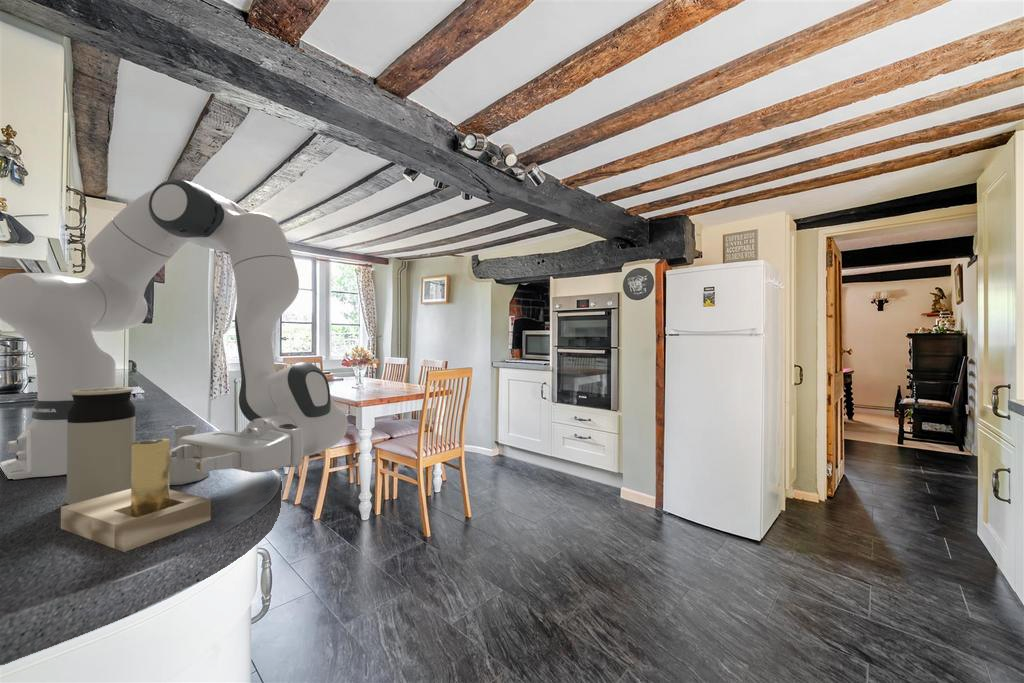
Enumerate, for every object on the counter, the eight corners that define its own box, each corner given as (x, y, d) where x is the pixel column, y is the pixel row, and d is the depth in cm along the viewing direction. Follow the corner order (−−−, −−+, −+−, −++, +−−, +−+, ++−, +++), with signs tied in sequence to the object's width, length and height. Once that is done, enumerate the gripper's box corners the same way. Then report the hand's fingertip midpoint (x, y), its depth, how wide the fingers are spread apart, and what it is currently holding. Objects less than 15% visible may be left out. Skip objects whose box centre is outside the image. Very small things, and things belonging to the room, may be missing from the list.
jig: (60, 528, 57) (60, 506, 57) (148, 502, 66) (148, 484, 66) (124, 552, 50) (124, 527, 50) (210, 519, 60) (210, 499, 60)
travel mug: (137, 497, 68) (138, 389, 68) (66, 511, 62) (67, 393, 62) (131, 485, 74) (132, 385, 74) (66, 498, 68) (67, 389, 68)
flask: (181, 488, 73) (181, 431, 73) (148, 485, 74) (149, 429, 74) (218, 475, 80) (218, 424, 80) (187, 472, 81) (188, 422, 81)
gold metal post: (124, 531, 56) (125, 442, 56) (158, 519, 60) (159, 436, 60) (140, 537, 54) (142, 445, 54) (175, 524, 58) (176, 439, 58)
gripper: (230, 419, 77) (139, 434, 64) (308, 428, 69) (223, 448, 56) (230, 453, 77) (139, 474, 64) (308, 466, 69) (223, 494, 56)
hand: (179, 462), depth 60 cm, fingers open, 8 cm apart
